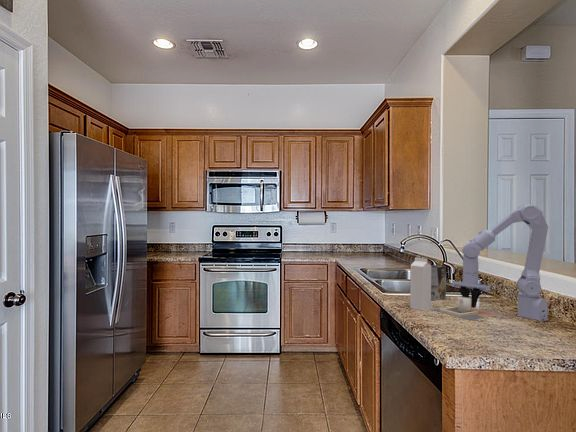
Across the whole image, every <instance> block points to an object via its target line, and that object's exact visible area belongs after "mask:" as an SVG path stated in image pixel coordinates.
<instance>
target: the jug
mask: <svg viewBox="0 0 576 432" xmlns="http://www.w3.org/2000/svg"><path fill="white" fill-rule="evenodd" d="M456 302H457V305H456V306H457V313H460V314H461V313H467V312H471V308H473V307H472V296H469V297H462V296H457V300H456ZM474 308H476V307H474Z"/></svg>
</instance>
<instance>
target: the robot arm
mask: <svg viewBox="0 0 576 432" xmlns="http://www.w3.org/2000/svg"><path fill="white" fill-rule="evenodd" d="M543 213H544V212H543V211H542V210H541V209H540V208H539V207H538V206H537V205H535V204H533V203H532V204H531V203H529V204H522V205H519V206H518V207H516V208H515V209H513V210H512V211H510V212H509V213H507V214H506V215H505V216H504V217H503V218H501V220H499V221H498V222H497V223H496V224H495V225H493V226H492V227H491V228H490V229H483V230H480V231H478V235H475V237H474V238H472V239H471V238H470V239H469V240H468V242H467V243H465V244H464V245H463V247H462V248H461V252H462V259H463V261H462V281H456V280H455V281H453V280H452V281H451V287H457V288H459V289H458V290H459V293H460V294H461V297H472V307H473V308H474V307H475V308H476V307H477V303H478V299H479V298H480V295H481V294H482V292H483V291H484V292H490V291H491V285H487V284H486V285H485V284H481V283H479V256H480V253H481V252H482V251H484V250H485V249H487V248H488V247H489V246H490V245H491V244H493V243H494V242H496V236H497V235H499V234H500V233H501V232H503V231H504V230H506V229H507V228H509V226H511V225H512V224H516V223H520V222H523V223H525V224H526V225H527V227H528V228H530V230H531V232H530V238H529V243H528V248H527V253H526V258H525V262H524V268H523V270H522V271H521V275H520V277H519V278H518V280H517V281H516V287H517V289H518V290H519V291H518V293H517V316H519V317H521V318H525V319H526V318H527V319H532V320H536V323H541V322H547V321H550V319H549V317H548V314H549V309H548V308H549V302H548V300H547V299H546V298H544V297H541V296H540V293H541V292H542V286H541V275H540V269H541V265H542V262H543V261H542V259H543V255H544V249H545V246H546V241H547V236H548V230H549V226H548V223H547V220H546V219H545V217H544V214H543ZM470 295H471V296H470Z"/></svg>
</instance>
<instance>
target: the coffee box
mask: <svg viewBox="0 0 576 432" xmlns="http://www.w3.org/2000/svg"><path fill="white" fill-rule="evenodd" d="M430 265H431V264H430ZM446 299H447V265H440V264H439V265H438V264H432V265H431V302H434V301H441V300H446Z"/></svg>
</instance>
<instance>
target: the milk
mask: <svg viewBox="0 0 576 432" xmlns="http://www.w3.org/2000/svg"><path fill="white" fill-rule="evenodd" d="M409 285H410V295H409V296H410V298H409V299H410V303H409V305H410V309H414V310H416V311H417V310H418V311H422V312H423V311H428V310H432V301H431V264H430V263H429V262H428V258H425V257H414V261H413V262H412V263H411V264H410V284H409Z"/></svg>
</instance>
